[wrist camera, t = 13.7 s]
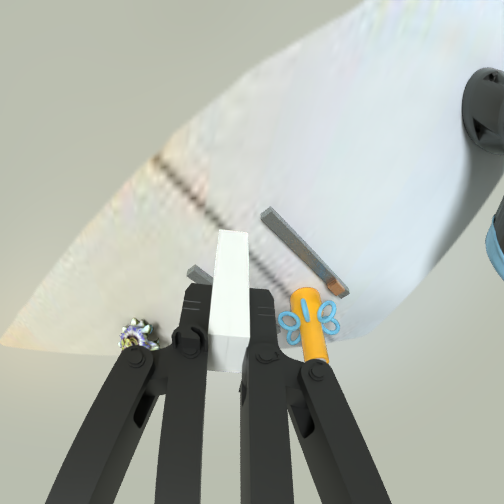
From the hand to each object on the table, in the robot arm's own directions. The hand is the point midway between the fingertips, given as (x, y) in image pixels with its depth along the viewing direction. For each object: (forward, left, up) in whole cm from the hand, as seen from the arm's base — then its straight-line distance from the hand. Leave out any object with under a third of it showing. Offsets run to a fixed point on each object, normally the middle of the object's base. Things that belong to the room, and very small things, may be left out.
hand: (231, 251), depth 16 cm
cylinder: (-17, +30, -27) cm, 43 cm away
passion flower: (+16, +46, -27) cm, 56 cm away
